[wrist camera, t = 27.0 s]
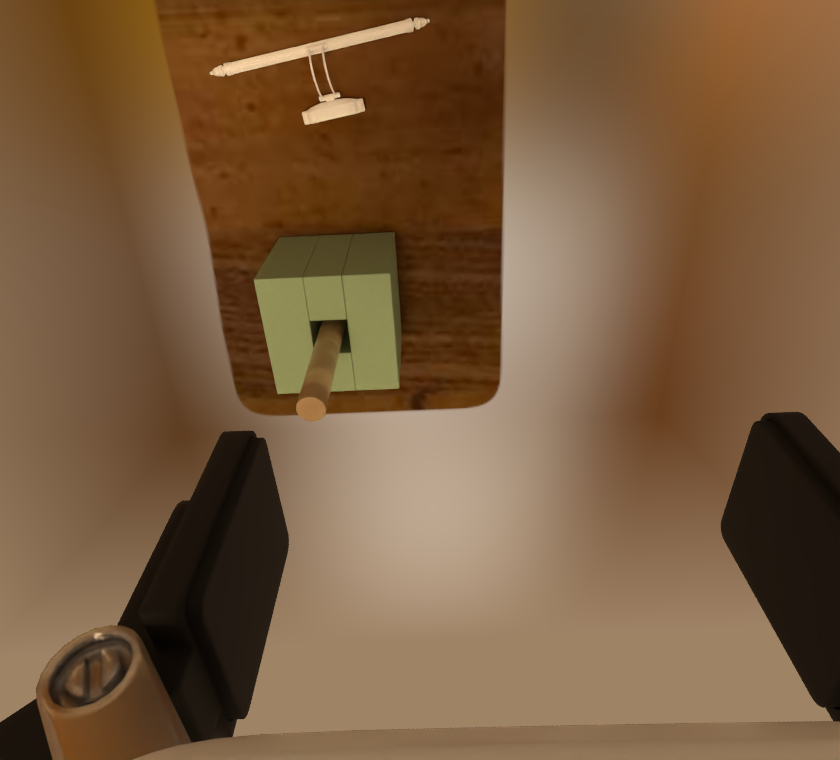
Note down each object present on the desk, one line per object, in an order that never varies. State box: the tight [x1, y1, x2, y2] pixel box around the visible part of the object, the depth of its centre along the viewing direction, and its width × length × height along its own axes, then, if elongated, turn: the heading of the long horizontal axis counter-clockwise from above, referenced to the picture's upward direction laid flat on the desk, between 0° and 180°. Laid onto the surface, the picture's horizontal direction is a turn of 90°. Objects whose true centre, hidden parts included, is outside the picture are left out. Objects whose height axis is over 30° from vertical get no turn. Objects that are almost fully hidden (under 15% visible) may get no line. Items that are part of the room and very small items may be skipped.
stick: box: [296, 319, 347, 421], centre depth 38 cm, size 2×2×16 cm
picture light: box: [210, 17, 430, 125], centre depth 36 cm, size 14×4×2 cm, turn 102°
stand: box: [254, 232, 402, 394], centre depth 42 cm, size 8×8×8 cm
